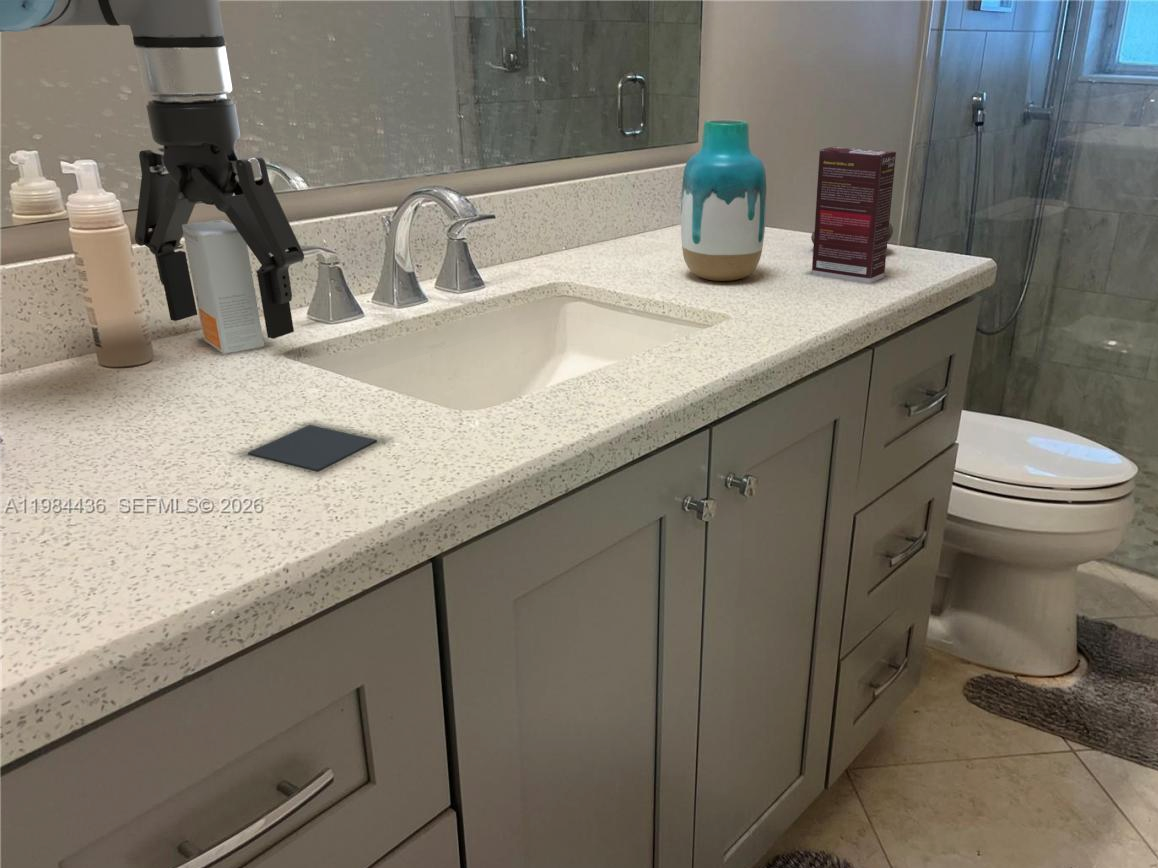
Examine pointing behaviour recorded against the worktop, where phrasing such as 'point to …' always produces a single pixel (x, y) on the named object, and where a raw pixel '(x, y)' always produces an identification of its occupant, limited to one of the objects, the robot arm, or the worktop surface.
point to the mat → (312, 448)
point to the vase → (723, 204)
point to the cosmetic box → (223, 286)
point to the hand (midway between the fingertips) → (231, 326)
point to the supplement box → (852, 213)
